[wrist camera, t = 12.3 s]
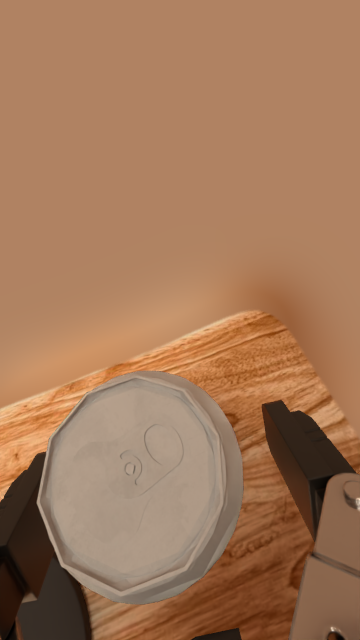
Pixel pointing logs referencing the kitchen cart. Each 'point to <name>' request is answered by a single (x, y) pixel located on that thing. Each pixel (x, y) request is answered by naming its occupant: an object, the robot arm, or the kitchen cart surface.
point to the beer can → (142, 487)
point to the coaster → (56, 609)
